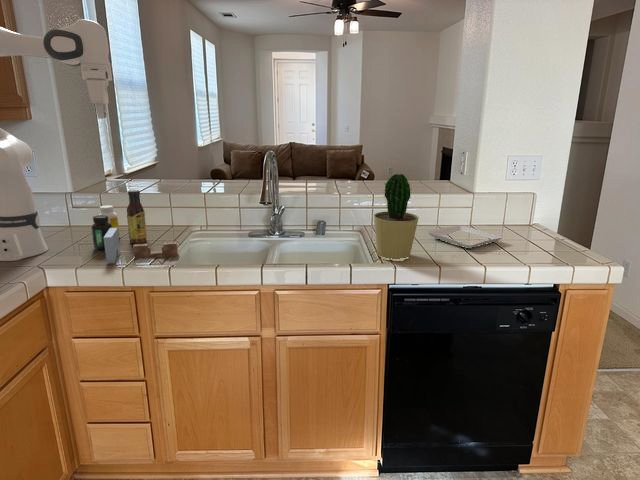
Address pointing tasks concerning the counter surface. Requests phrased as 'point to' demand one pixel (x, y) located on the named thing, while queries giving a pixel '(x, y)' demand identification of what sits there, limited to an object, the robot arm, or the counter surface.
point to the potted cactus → (395, 221)
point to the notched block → (144, 251)
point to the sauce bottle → (136, 218)
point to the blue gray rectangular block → (111, 245)
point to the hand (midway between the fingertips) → (102, 118)
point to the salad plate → (444, 231)
